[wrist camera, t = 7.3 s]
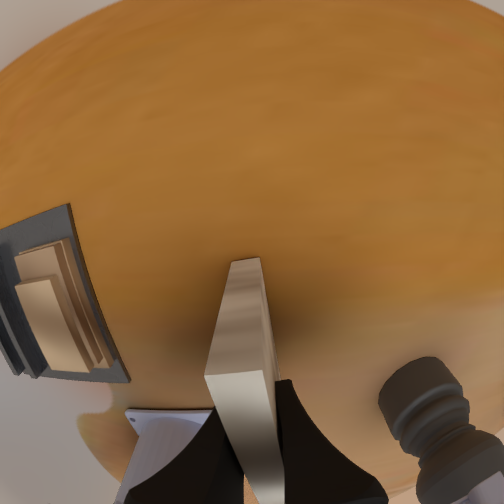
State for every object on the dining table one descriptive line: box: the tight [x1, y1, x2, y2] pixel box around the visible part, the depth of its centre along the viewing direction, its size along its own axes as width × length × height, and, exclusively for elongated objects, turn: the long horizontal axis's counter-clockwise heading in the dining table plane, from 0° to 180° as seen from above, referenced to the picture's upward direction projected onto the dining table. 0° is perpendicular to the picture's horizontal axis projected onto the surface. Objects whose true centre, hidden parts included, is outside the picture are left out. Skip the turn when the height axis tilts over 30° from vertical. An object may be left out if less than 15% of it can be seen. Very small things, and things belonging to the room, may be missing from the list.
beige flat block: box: [204, 257, 284, 504], centre depth 13 cm, size 10×2×9 cm, turn 10°
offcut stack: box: [14, 237, 114, 373], centre depth 15 cm, size 9×5×2 cm, turn 10°
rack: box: [0, 203, 131, 383], centre depth 16 cm, size 13×13×2 cm
